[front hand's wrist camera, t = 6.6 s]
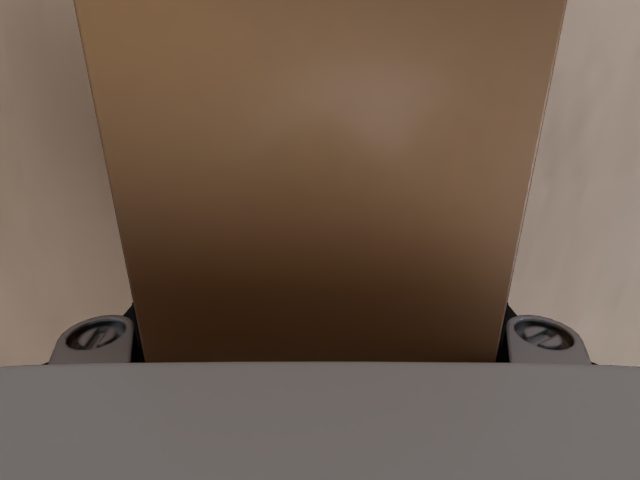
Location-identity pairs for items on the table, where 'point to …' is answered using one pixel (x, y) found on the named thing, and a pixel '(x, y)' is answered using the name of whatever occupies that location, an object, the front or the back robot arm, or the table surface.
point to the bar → (320, 170)
